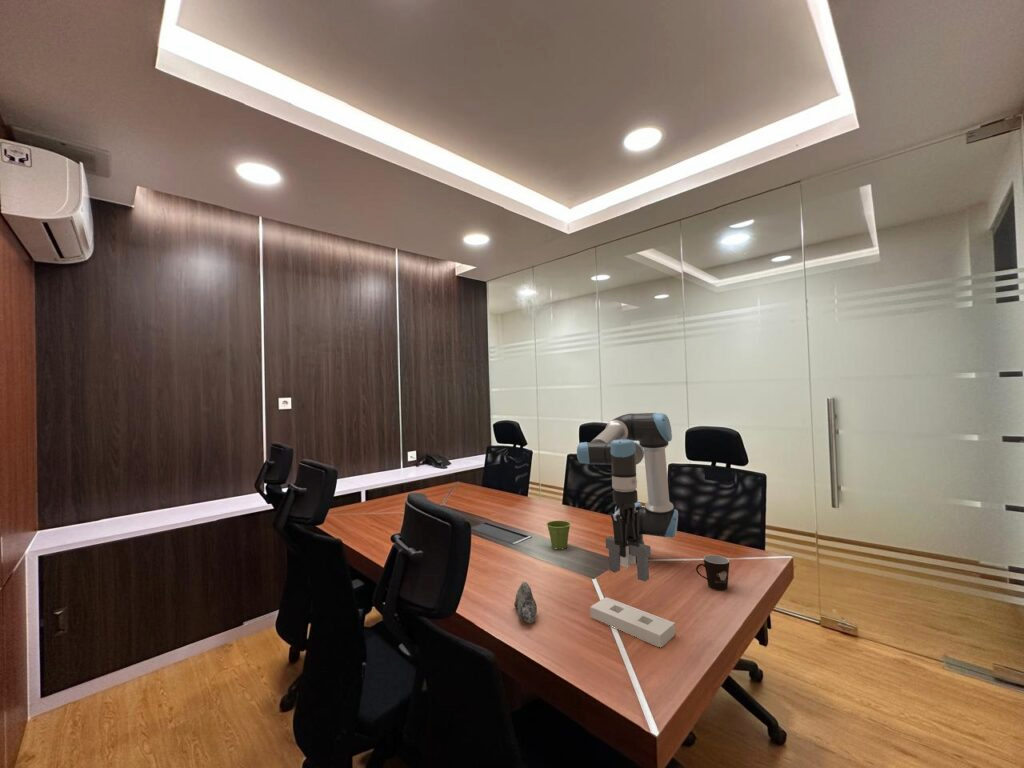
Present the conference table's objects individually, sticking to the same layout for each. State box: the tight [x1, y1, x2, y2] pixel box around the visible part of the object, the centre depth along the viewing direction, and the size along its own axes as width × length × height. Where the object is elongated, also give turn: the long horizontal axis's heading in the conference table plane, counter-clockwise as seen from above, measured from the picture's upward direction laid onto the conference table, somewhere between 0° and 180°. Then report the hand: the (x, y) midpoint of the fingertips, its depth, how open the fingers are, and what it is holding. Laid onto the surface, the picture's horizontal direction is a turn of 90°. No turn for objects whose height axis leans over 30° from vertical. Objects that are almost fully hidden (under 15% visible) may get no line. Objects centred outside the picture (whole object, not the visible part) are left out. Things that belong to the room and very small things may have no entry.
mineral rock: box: [513, 581, 538, 624], centre depth 136 cm, size 13×11×10 cm
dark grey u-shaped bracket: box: [605, 536, 652, 582], centre depth 129 cm, size 14×3×10 cm, turn 43°
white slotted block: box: [589, 596, 676, 649], centre depth 128 cm, size 24×9×4 cm, turn 43°
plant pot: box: [546, 520, 572, 550], centre depth 199 cm, size 12×12×11 cm
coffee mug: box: [695, 554, 730, 592], centre depth 153 cm, size 12×9×10 cm
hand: (628, 564), depth 129 cm, fingers closed on dark grey u-shaped bracket, 3 cm apart
